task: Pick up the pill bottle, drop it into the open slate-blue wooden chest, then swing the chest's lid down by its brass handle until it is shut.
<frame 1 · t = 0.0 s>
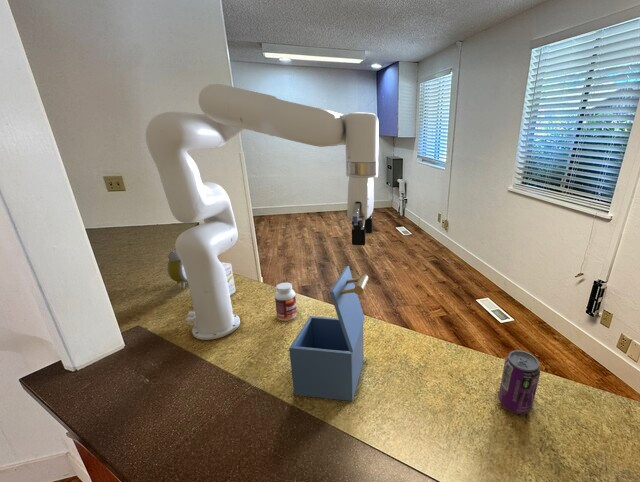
hand: (362, 238, 77), 31 cm above the table, tool pointing down, fingers open, 9 cm apart
pill bottle: (287, 316, 99), on the table
beverage can: (514, 403, 68), on the table
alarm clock: (186, 284, 118), on the table
chest: (331, 377, 74), on the table
ink box: (218, 296, 110), on the table
lid: (359, 305, 67), point 21 cm above the table, hinge at 75.0°
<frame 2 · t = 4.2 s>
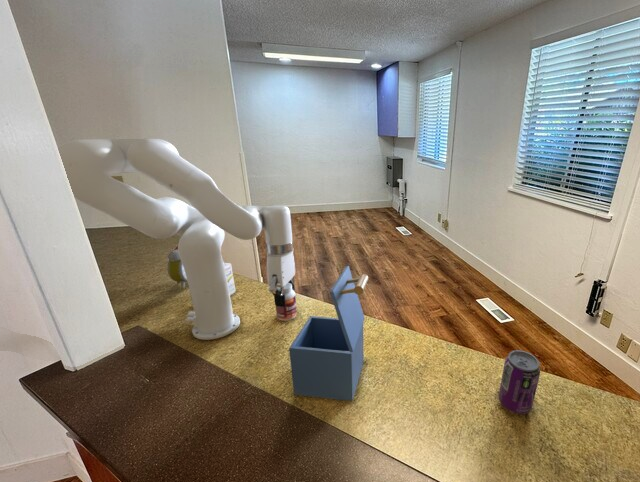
hand: (285, 299, 97), 6 cm above the table, tool pointing down, fingers closed on pill bottle, 6 cm apart
pill bottle: (287, 316, 99), on the table, touching gripper
everything else where it was.
when the fingers open (17 cm above the table, at t = 10.6 s): pill bottle drops 10 cm, resting on chest.
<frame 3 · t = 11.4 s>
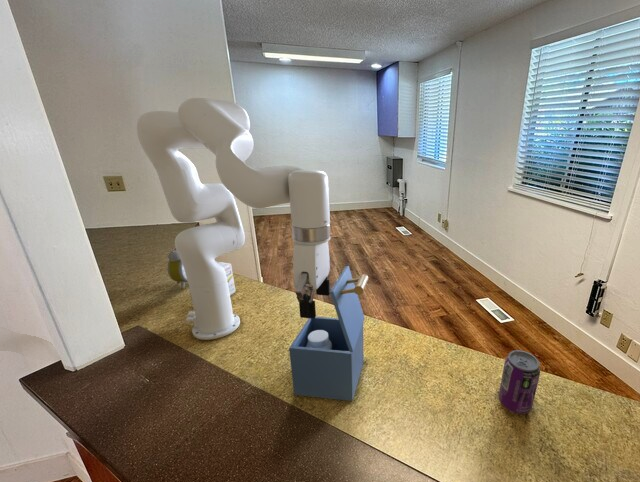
hand: (316, 305, 68), 20 cm above the table, tool pointing down, fingers open, 9 cm apart
pill bottle: (320, 374, 74), point 1 cm above the table, touching chest
everything else where it was.
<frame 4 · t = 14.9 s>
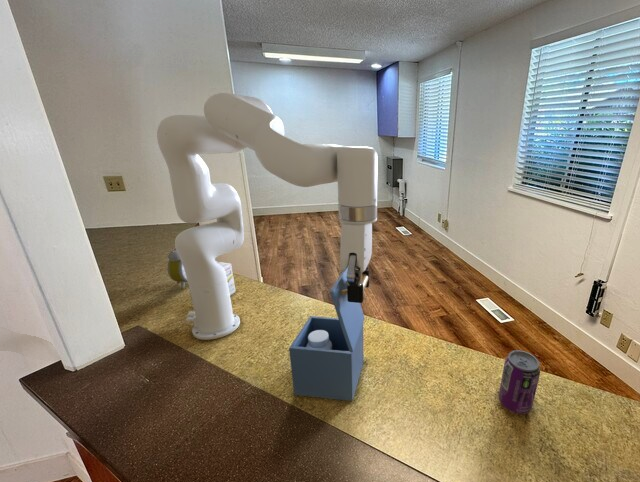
hand: (358, 293, 66), 24 cm above the table, tool pointing down, fingers closed on lid, 6 cm apart
lid: (359, 305, 67), point 21 cm above the table, hinge at 75.0°, touching gripper
everything else where it was.
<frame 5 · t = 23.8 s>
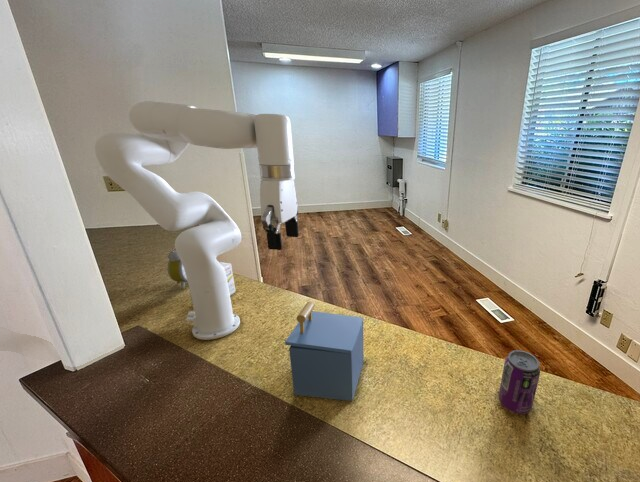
hand: (284, 242, 76), 30 cm above the table, tool pointing down, fingers open, 9 cm apart
lid: (327, 321, 69), point 16 cm above the table, hinge at 2.6°
everything else where it was.
at the end: pill bottle inside the target area in the chest (2.6 cm from its centre), point 0.6 cm above the chest's base; lid at +3° (first picture: +75°) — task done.
